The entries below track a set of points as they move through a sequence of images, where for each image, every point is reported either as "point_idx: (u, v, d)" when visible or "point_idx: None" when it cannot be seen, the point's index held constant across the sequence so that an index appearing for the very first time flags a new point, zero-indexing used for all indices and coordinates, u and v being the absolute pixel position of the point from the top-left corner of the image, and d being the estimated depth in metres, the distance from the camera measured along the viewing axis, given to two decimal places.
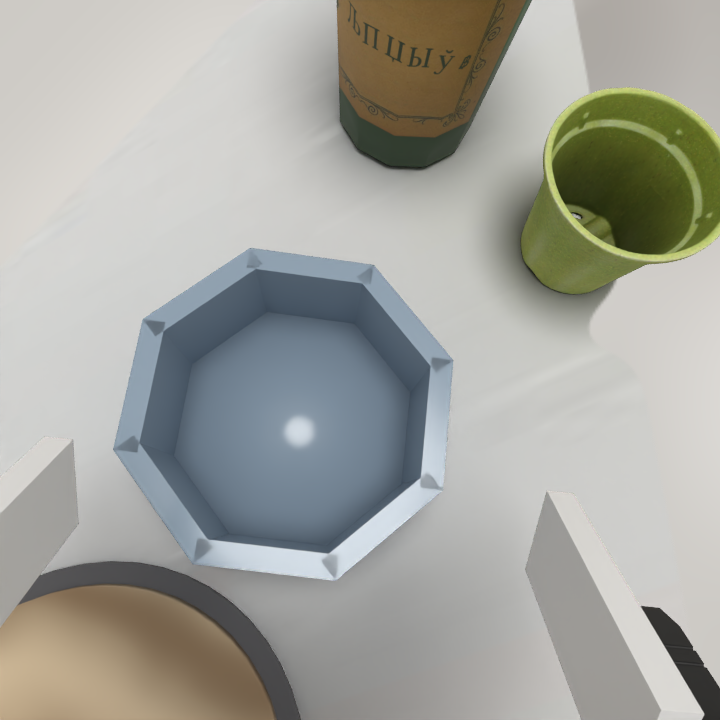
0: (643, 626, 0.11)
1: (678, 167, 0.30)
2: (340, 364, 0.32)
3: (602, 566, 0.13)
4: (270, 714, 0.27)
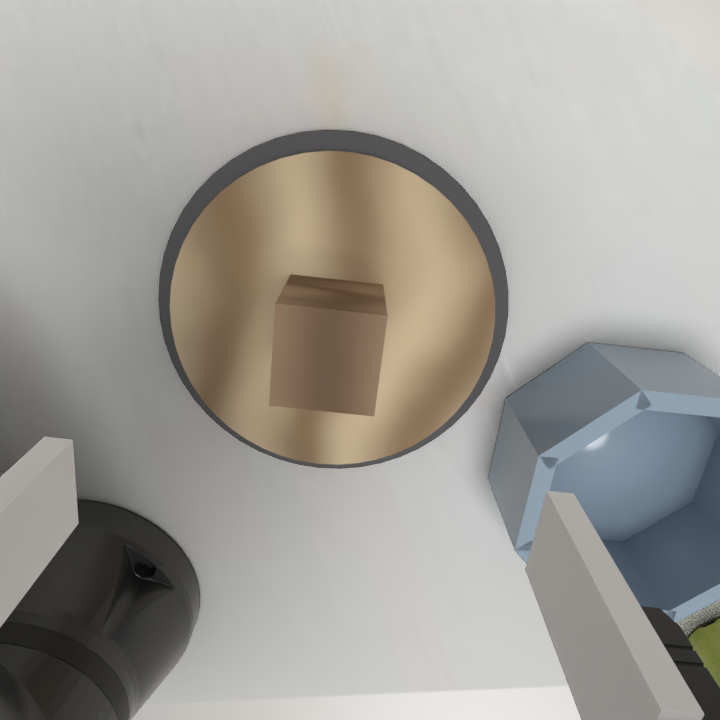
0: (643, 626, 0.11)
1: None
2: (657, 491, 0.36)
3: (602, 566, 0.13)
4: (391, 454, 0.35)
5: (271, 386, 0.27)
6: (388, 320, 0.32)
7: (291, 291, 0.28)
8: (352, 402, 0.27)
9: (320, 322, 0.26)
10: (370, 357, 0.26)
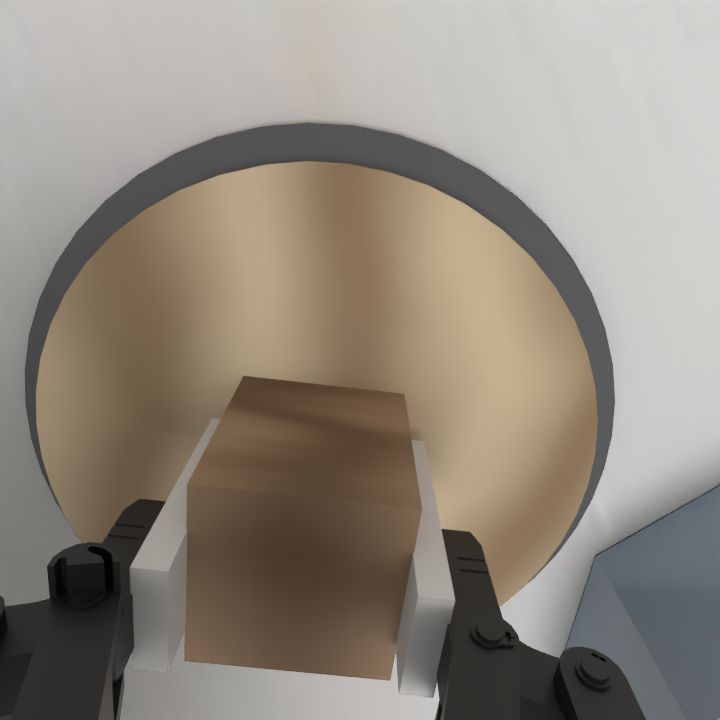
0: (435, 539, 0.13)
1: None
2: None
3: (421, 495, 0.15)
4: None
5: (187, 629, 0.13)
6: None
7: (233, 433, 0.14)
8: (348, 657, 0.14)
9: (283, 520, 0.12)
10: (385, 582, 0.13)
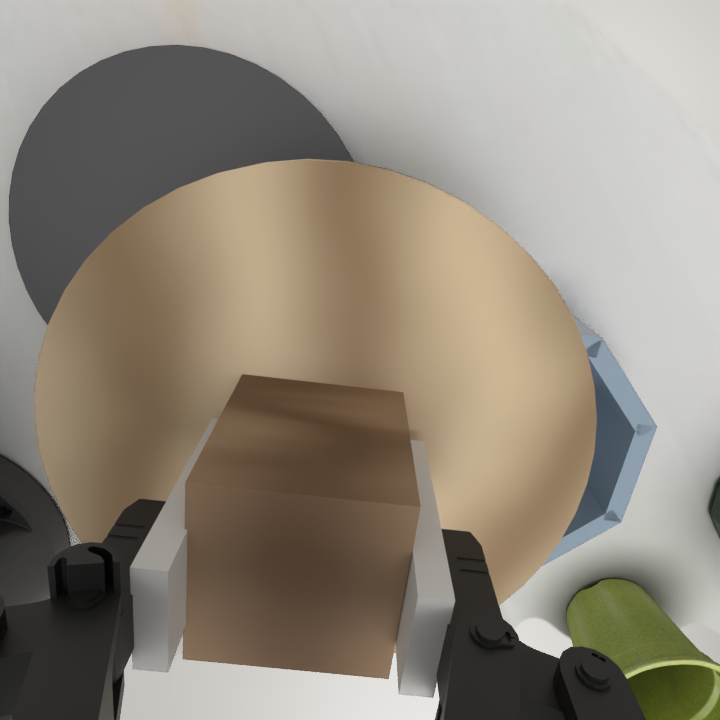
0: (435, 539, 0.13)
1: None
2: None
3: (421, 495, 0.15)
4: None
5: (186, 627, 0.13)
6: None
7: (232, 431, 0.14)
8: (346, 655, 0.14)
9: (281, 517, 0.12)
10: (383, 580, 0.13)
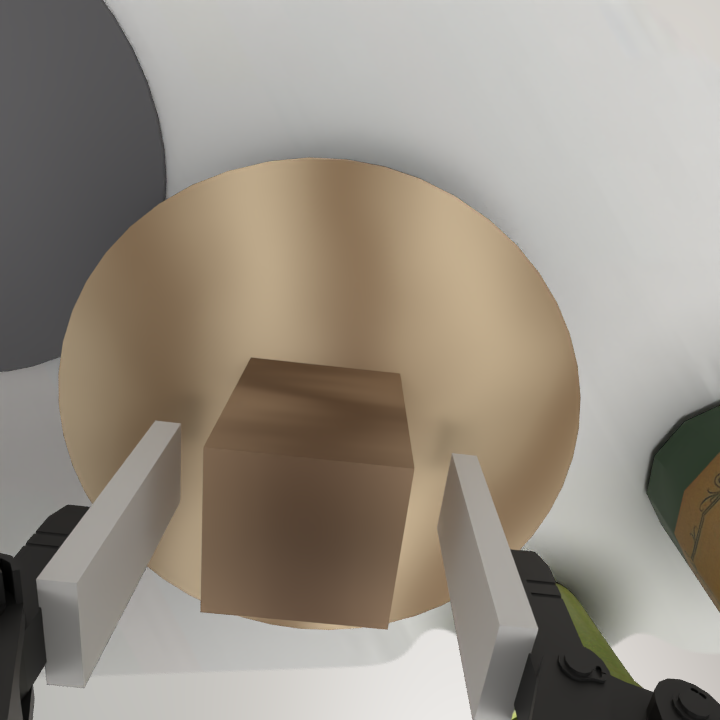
0: (506, 562, 0.13)
1: None
2: None
3: (484, 514, 0.14)
4: (410, 616, 0.23)
5: (203, 582, 0.15)
6: (408, 427, 0.20)
7: (243, 406, 0.16)
8: (349, 607, 0.15)
9: (289, 479, 0.14)
10: (382, 536, 0.14)
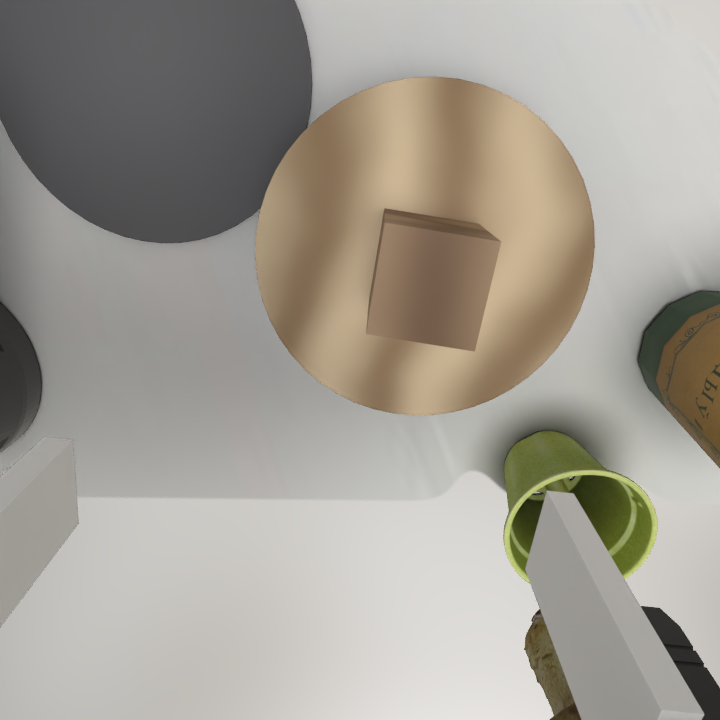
0: (643, 626, 0.11)
1: None
2: None
3: (602, 566, 0.13)
4: (469, 407, 0.34)
5: (370, 313, 0.26)
6: None
7: (394, 217, 0.26)
8: (453, 335, 0.26)
9: (429, 245, 0.24)
10: (478, 286, 0.25)
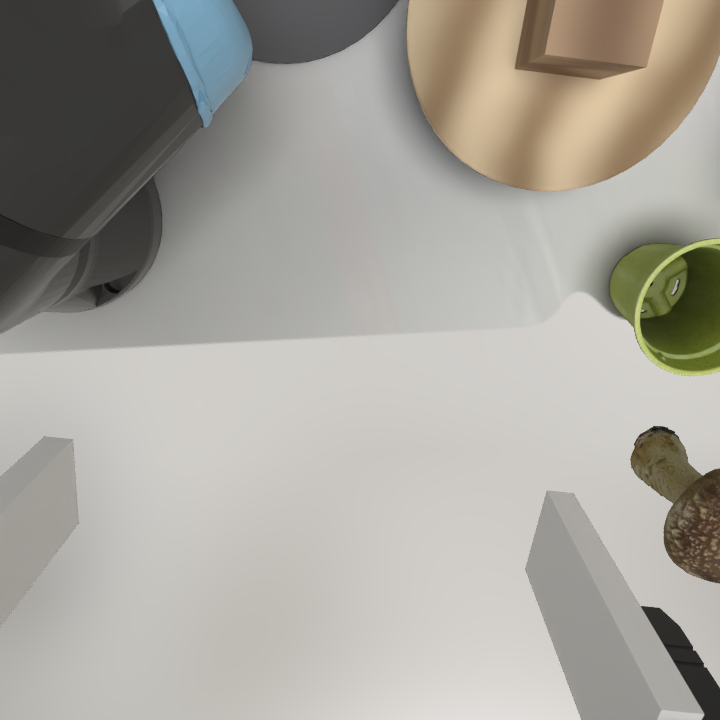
0: (643, 626, 0.11)
1: (703, 349, 0.41)
2: None
3: (602, 566, 0.13)
4: (605, 179, 0.35)
5: (550, 30, 0.27)
6: None
7: None
8: (627, 50, 0.27)
9: None
10: None
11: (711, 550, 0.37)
